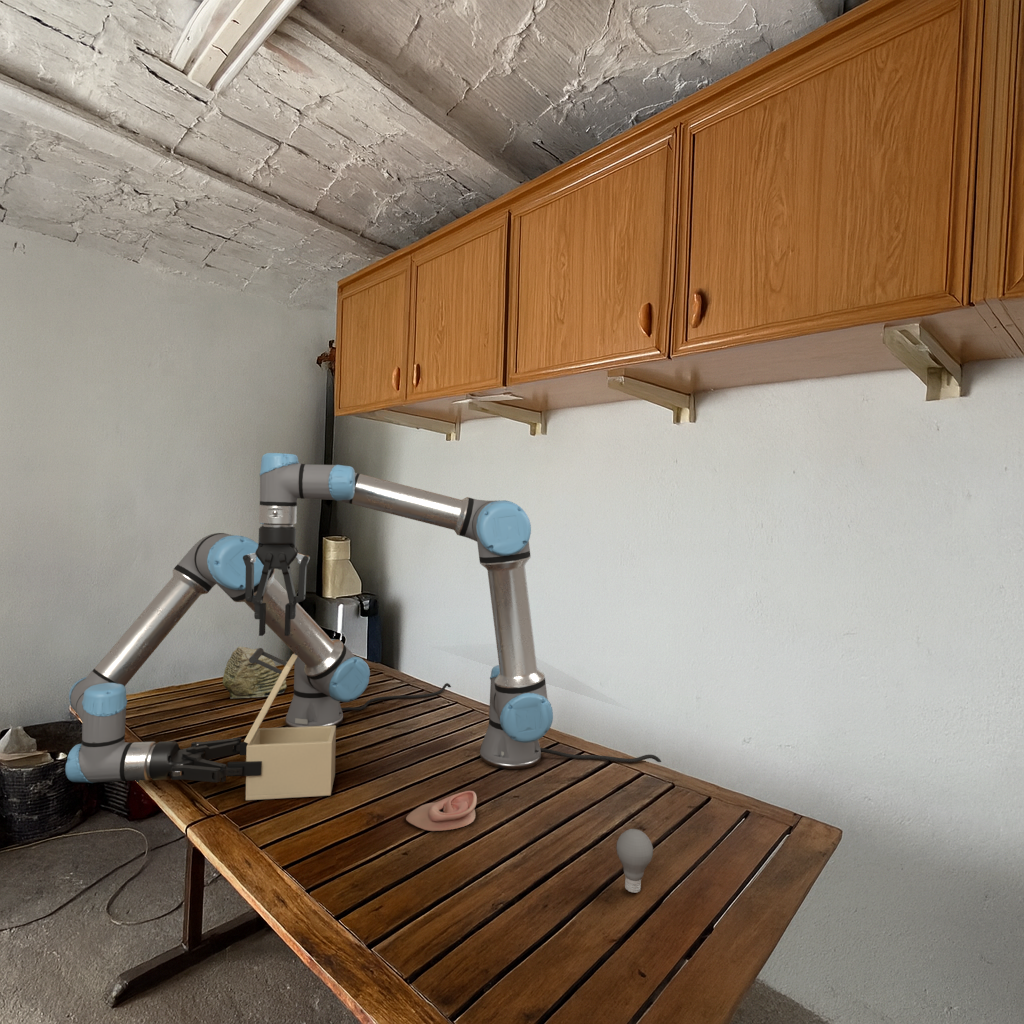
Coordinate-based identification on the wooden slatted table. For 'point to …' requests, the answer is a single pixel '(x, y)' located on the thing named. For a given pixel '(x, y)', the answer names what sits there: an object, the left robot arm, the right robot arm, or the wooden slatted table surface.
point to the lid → (276, 688)
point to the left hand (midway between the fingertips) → (266, 757)
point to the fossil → (249, 675)
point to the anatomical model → (445, 813)
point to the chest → (292, 762)
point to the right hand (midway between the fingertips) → (274, 634)
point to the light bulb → (634, 857)
